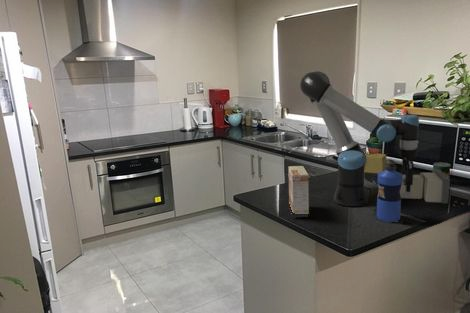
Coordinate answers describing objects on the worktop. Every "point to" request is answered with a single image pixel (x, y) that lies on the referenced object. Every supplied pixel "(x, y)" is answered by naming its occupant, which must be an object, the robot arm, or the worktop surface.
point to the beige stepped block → (435, 187)
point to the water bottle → (389, 193)
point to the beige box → (414, 187)
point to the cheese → (375, 163)
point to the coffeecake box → (298, 190)
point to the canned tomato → (442, 168)
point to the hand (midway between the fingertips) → (405, 195)
